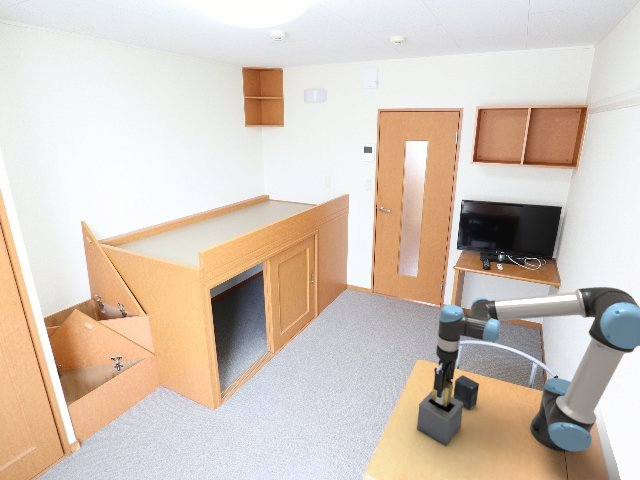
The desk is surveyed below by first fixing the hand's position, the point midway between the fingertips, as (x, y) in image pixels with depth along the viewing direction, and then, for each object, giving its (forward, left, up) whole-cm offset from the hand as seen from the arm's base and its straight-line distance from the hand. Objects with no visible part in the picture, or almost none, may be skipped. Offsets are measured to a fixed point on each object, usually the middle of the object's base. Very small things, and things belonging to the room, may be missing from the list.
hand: (441, 400), depth 146 cm
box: (-1, -21, -14) cm, 25 cm away
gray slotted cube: (0, 0, -14) cm, 14 cm away
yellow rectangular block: (0, 0, 0) cm, 0 cm away
